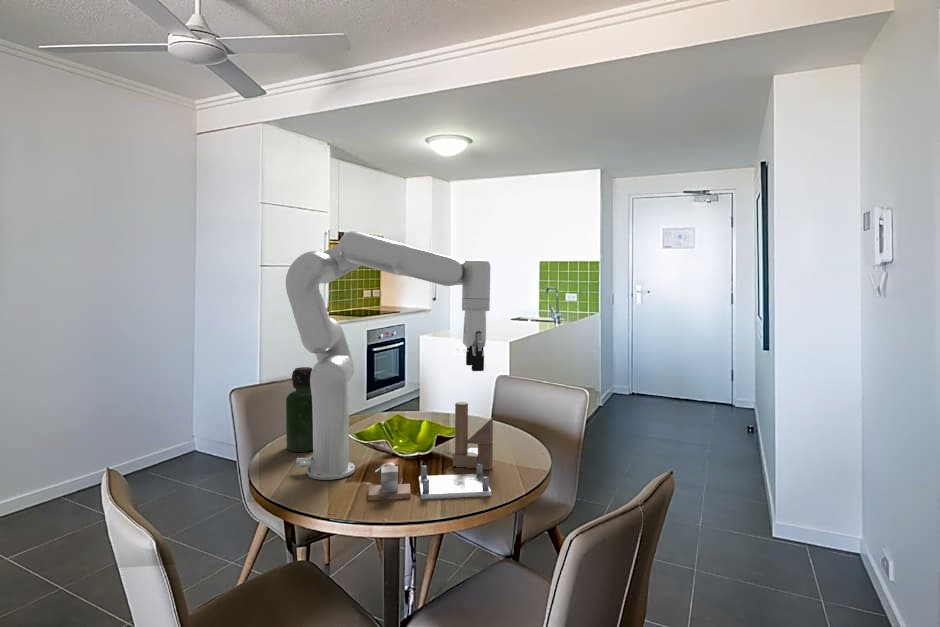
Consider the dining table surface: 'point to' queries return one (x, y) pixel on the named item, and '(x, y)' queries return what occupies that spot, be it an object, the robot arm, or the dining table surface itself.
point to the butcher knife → (473, 450)
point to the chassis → (454, 485)
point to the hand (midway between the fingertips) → (474, 367)
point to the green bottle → (300, 412)
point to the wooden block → (472, 441)
